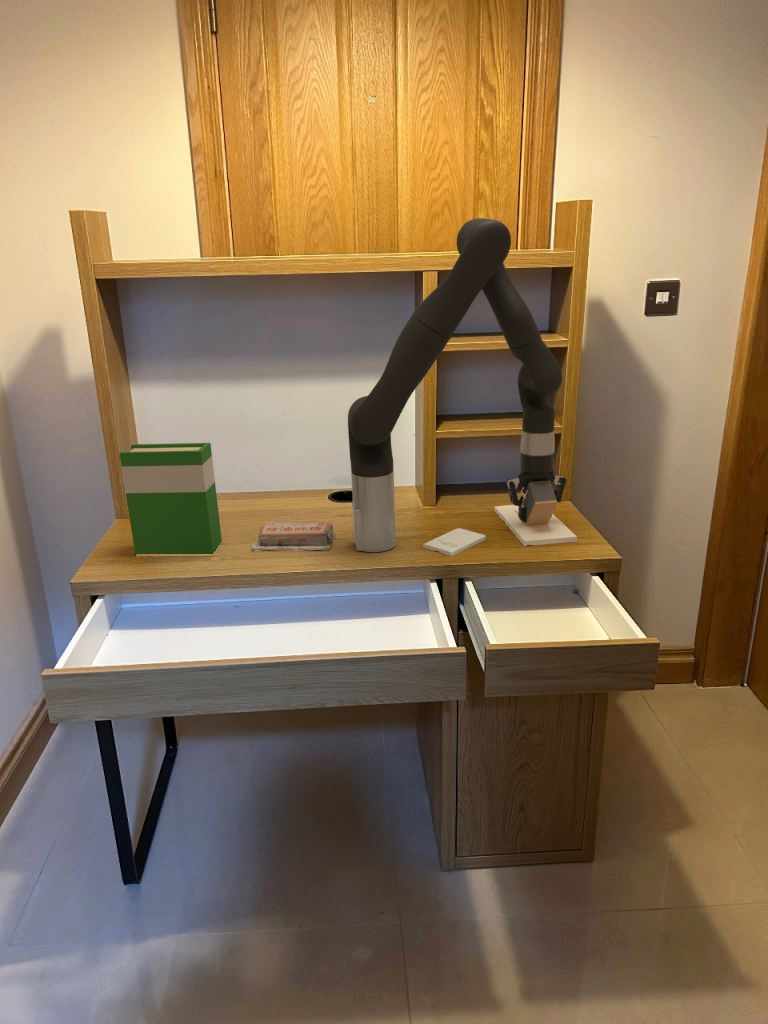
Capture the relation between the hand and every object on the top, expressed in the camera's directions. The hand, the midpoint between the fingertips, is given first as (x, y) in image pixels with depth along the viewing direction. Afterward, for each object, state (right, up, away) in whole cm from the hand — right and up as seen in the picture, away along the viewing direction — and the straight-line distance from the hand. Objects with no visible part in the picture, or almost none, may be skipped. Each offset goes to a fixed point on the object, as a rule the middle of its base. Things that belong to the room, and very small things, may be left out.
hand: (535, 520), depth 175 cm
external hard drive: (-19, -6, -7) cm, 21 cm away
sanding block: (+1, +1, -5) cm, 5 cm away
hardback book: (-82, -7, -5) cm, 82 cm away
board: (0, -1, +2) cm, 2 cm away
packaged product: (-56, -6, -3) cm, 56 cm away
